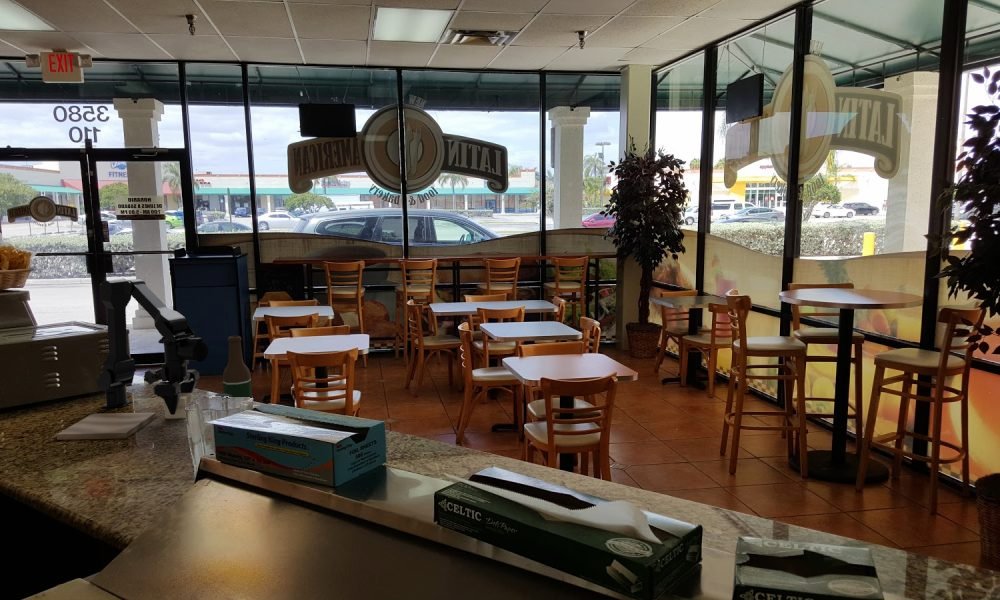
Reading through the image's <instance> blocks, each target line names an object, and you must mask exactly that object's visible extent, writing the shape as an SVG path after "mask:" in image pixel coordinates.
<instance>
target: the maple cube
mask: <svg viewBox="0 0 1000 600" xmlns="http://www.w3.org/2000/svg"><path fill="white" fill-rule="evenodd" d="M192 401H193V402H194V392H192V393H181V394H180V398H179V402H178V405H177V409H176V412H175V414H174V415H171V414H170V412H169V410H168V407H167V405H166V403H165V401H164V400H163V407H164V419H187V418H186V412H185V406H186V405H187V404H188V403H190V402H192Z"/></svg>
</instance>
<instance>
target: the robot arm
mask: <svg viewBox="0 0 1000 600" xmlns="http://www.w3.org/2000/svg"><path fill="white" fill-rule="evenodd" d="M98 293H99V298H100V301H101V303H102V304H103V305H104V307H105V308H106V314H107V315H106V316H107V317H106V318H107V320H106V321H107V339H108V343H107V344H108V355H107V357H106V359H105V361H104V363H103V365H102V372H101V374H100V375H99V377H98V378H97V380H96V381H95V382H96V385H97V388H98V389H100V390H104V391H105V392H104V393H105V403H104V404H102V405H101V408H123V407H126V406H127V405H128V404H131V403H132V402H133V399H128V394H127V393H128V392H127V385H128V384H129V385H130V384H133V381H134V377H135V373H136V371H137V370H136V369H137V368H136V360H135V359H134V358H132V357H131V356H130V355H129V353H128V339H127V337H128V336H127V334H128V333H127V332H128V331H127V310H126V308H127V306H128V305H129V303H130V301H131V299H132V298H133V299H134V300H135V301H136V302H137V303H138V304H139V305H140V307H142V308H143V309H144V310H145V312H147V314H149V316H150V317H151V318H152V319H153V321H154V327H155V329H156V330H157V332H158V333H159V334H160V336H162V337H161V338H160V339H159V340H158V344H162V345H163V350H164V351H163V352H164V363H162V364H161V367H160V368H158V369H155V370H153V369H149V370H146V371H145V372H144V375H143V381H144V382H146V383H148V385H153V383H156V382H158V383H157V384H155V385H154V386H153V388H152V389H153V395H154V396H156V397H160V398H161V399H163V402H164V401H165V403H166V405H167V407H168V410H169V412H170V414H171V415H174V414H175V412H176V409H177V405H178V402H179V398H180V394H181V393H194V390H195V387H196V385H197V383H198V380H199V379H200V372H199V371H198V370H197V369H188V365H189V364H190V362H198V363H199V362H200V363H201V362H204V361H205V360H206V359H207V357H208V355H209V348H208V345H207V344H206V343H205V342H203V340H202V339H203V338H202V337H197V336H196V334H195V331H194V330H193V328H192V327H191V326H190V324H189V322H188V319H187V318H186V317H185V316H184V315H182V314H181V313H180V312H179V311H176V310H173V309H171V308H169V307H168V305H166V304H165V303H164V302H163V301H162V300H161V299H160V298H159V297H158V296H157V295H156V294H155V293H154V292H153V290H151V289H150V288H149V287H148V286H147V284H146V281H145V280H143V279H141V278H137V279H130V280H128V279H126V278H117V279H116V278H115V279H108V280H106V279H105V280H103V281H102V282H101V283H100V284H99V286H98ZM159 381H160V382H159Z"/></svg>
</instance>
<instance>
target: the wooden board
mask: <svg viewBox="0 0 1000 600" xmlns="http://www.w3.org/2000/svg"><path fill="white" fill-rule="evenodd" d="M155 419H157V413H156V412H124V413H123V412H121V413H119V412H117V413H115V412H112V413H111V412H110V413H92V414H90V415H88V416H86V417H85V418H83V419H81V420H79V421H77V422H76V423H74V424H72V425H71V426H69V427H67V428H65V429H63V430H62V431H60V432H58V433H57V434H56V438H57V439H56V440H57V441H58V440H60V441H61V440H65V441H66V440H101V439H102V440H103V439H104V440H105V439H106V440H107V439H110V440H111V439H128V438H129V437H130V436H132V435H133V434H135V433H136V432H138V431H139V430H141V429H142V428H143V427H144V426H146V425H148V424H149V423H150V422H153V420H155Z"/></svg>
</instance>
